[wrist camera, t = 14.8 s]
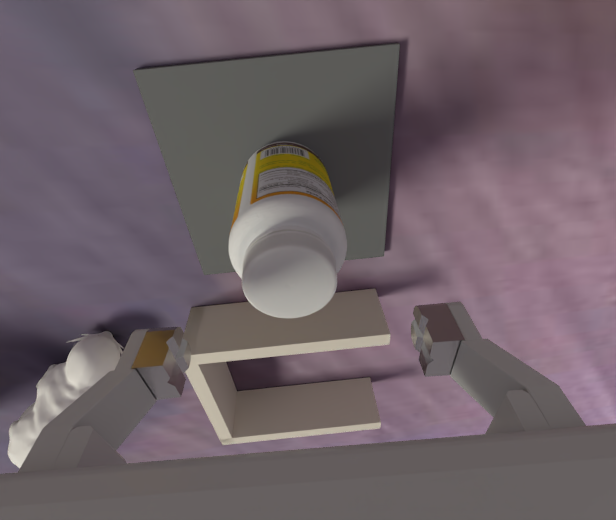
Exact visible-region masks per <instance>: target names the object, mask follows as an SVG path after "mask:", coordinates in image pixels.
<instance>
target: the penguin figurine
mask: <svg viewBox="0 0 616 520" xmlns="http://www.w3.org/2000/svg"><path fill="white" fill-rule="evenodd" d="M81 335H87V336H84V337H80V338H77V339H74V340H71V341H72V342H74V341H78V340H81V341H79V342H78V343H77V344H76V345H75V346H74V347H73V348H72V350H71V351H70V353H69V355H68V358H67V362H65V363H60V364H58V365H57V364H53V365H51V366H49V368H48V370H47V371H46V372H45V374H44V376H43V377H42V378H41V379H40V380H39V382H38V383H37V385H36V388H38V389H37V398H36V402H35V403H33V404H32V405H31V406H30V407H28V408H27V409H26V410H25V411H24V413H23V414H22V415H21V417H20V418H19V420H17V421H14V422H13V423H12V424H11V426H10V429H9V436H10V442H9V446H8V456H9V458H10V460H11V461H12V463H13V464H15V465H17V466H18V467H19V468H20V467H21V466H22V464H23V462H24V460H25V459H26V457H27V455H28V453H29V452H30V450H31V448H32V446H33V445H34V443H35V441H36V439H37V438H38V436H39V434H40V432H41V431H42V429H43V428H44V427H45V426H46V425H47V424H48V423H49V422H51V421H52V420H53V419H54V418H55V417H57V416H58V415H59V414H60V413H61V412H62V411H64V410H65V409H66V408H67V407H68V406H69V405H71V404H72V403H73V402H74V401H75V400H76V399H78V398H79V397H80V396H81V395H82V394H84V393H85V392H86V391H87V390H88V389H89V388H91V387H92V386H93V385H94V384H95V383H96V382H98V381H99V380H100V379H101V378H102V377H103V376H105V375H106V374H107V373H108V372H109V371H114V370H115V368H116V366H117V364H118V362H119V359H120V353H121V355H122V353H123V351H122V349H121V348H123V347H122V346H121V345H120V344H119V343H118V342H116V340H115V339H114V338H113V335H112V333H111V332H109V331H104V332H102V333H97V334H81ZM71 341H68V342H71ZM120 347H121V348H120ZM123 349H124V348H123Z"/></svg>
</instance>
